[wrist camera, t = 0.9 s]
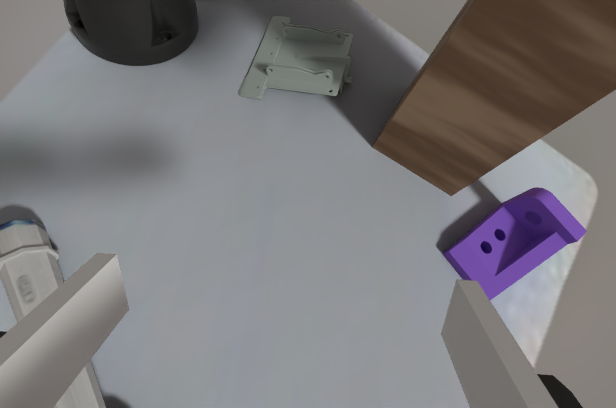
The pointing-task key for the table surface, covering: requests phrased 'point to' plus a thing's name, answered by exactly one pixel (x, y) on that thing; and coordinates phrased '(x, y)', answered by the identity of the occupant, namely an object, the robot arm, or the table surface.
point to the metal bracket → (299, 60)
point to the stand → (501, 85)
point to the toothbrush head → (39, 293)
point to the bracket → (514, 240)
